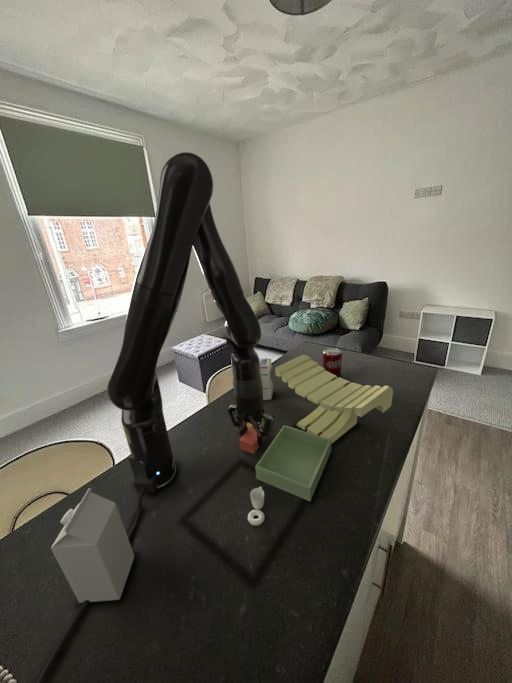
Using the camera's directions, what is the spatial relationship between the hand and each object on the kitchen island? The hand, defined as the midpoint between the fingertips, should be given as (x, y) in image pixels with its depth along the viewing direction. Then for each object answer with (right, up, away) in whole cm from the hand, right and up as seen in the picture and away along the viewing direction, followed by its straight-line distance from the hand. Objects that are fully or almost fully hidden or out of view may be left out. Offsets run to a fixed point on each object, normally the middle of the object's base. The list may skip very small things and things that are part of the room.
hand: (253, 441), depth 78 cm
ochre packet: (0, +1, +10) cm, 10 cm away
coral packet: (0, -1, 0) cm, 1 cm away
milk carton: (-27, -16, -27) cm, 41 cm away
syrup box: (+4, +7, +27) cm, 28 cm away
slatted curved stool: (+24, +2, +10) cm, 26 cm away
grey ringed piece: (-1, -10, -16) cm, 19 cm away
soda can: (+32, +13, +36) cm, 50 cm away
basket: (+11, -5, -5) cm, 13 cm away
